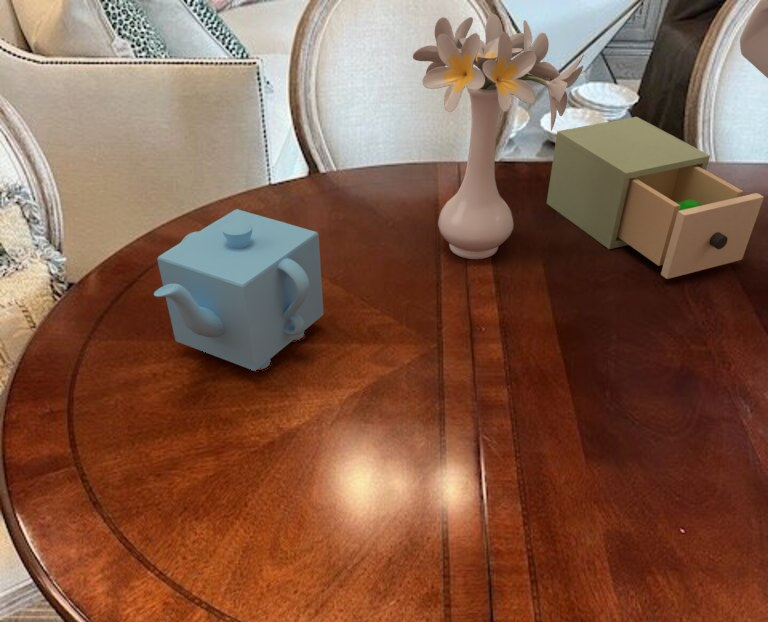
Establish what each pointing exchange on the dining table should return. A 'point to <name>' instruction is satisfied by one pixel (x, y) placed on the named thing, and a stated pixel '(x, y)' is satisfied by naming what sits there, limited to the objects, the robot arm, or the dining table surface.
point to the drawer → (687, 220)
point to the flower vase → (487, 118)
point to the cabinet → (610, 171)
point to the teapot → (243, 287)
